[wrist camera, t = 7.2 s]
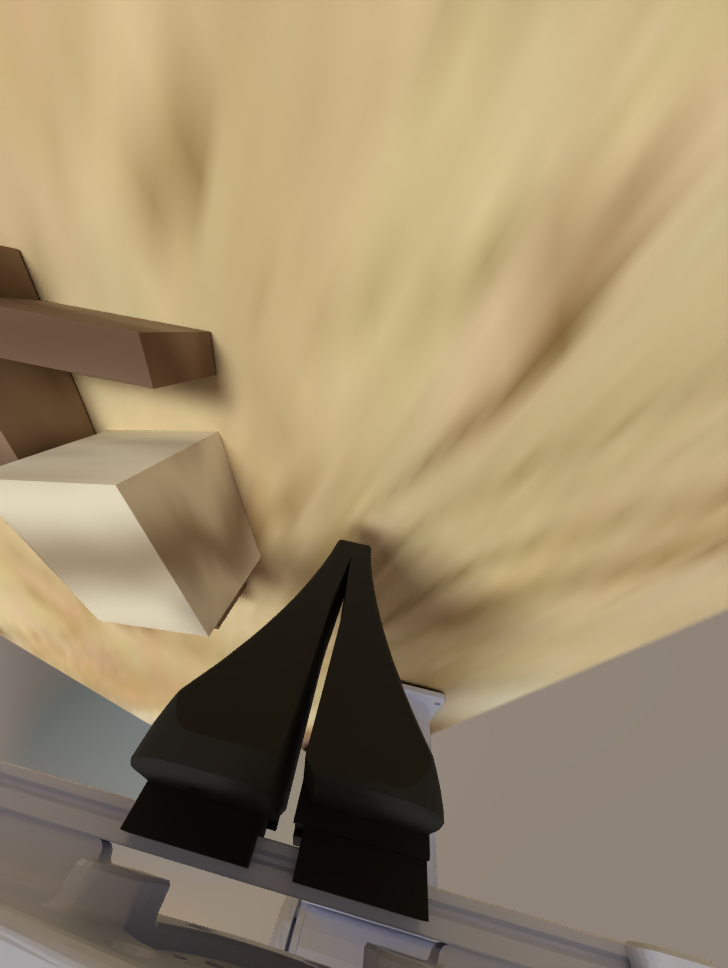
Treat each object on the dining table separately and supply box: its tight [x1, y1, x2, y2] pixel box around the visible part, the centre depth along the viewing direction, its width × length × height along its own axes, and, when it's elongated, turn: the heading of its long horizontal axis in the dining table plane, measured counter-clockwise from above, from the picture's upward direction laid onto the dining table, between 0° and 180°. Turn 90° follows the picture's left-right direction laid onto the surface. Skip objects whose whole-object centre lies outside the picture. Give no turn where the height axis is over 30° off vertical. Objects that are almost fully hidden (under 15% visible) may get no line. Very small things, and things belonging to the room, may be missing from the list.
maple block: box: [0, 430, 261, 637], centre depth 12 cm, size 8×6×5 cm
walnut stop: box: [0, 246, 246, 629], centre depth 13 cm, size 18×8×3 cm, turn 171°
